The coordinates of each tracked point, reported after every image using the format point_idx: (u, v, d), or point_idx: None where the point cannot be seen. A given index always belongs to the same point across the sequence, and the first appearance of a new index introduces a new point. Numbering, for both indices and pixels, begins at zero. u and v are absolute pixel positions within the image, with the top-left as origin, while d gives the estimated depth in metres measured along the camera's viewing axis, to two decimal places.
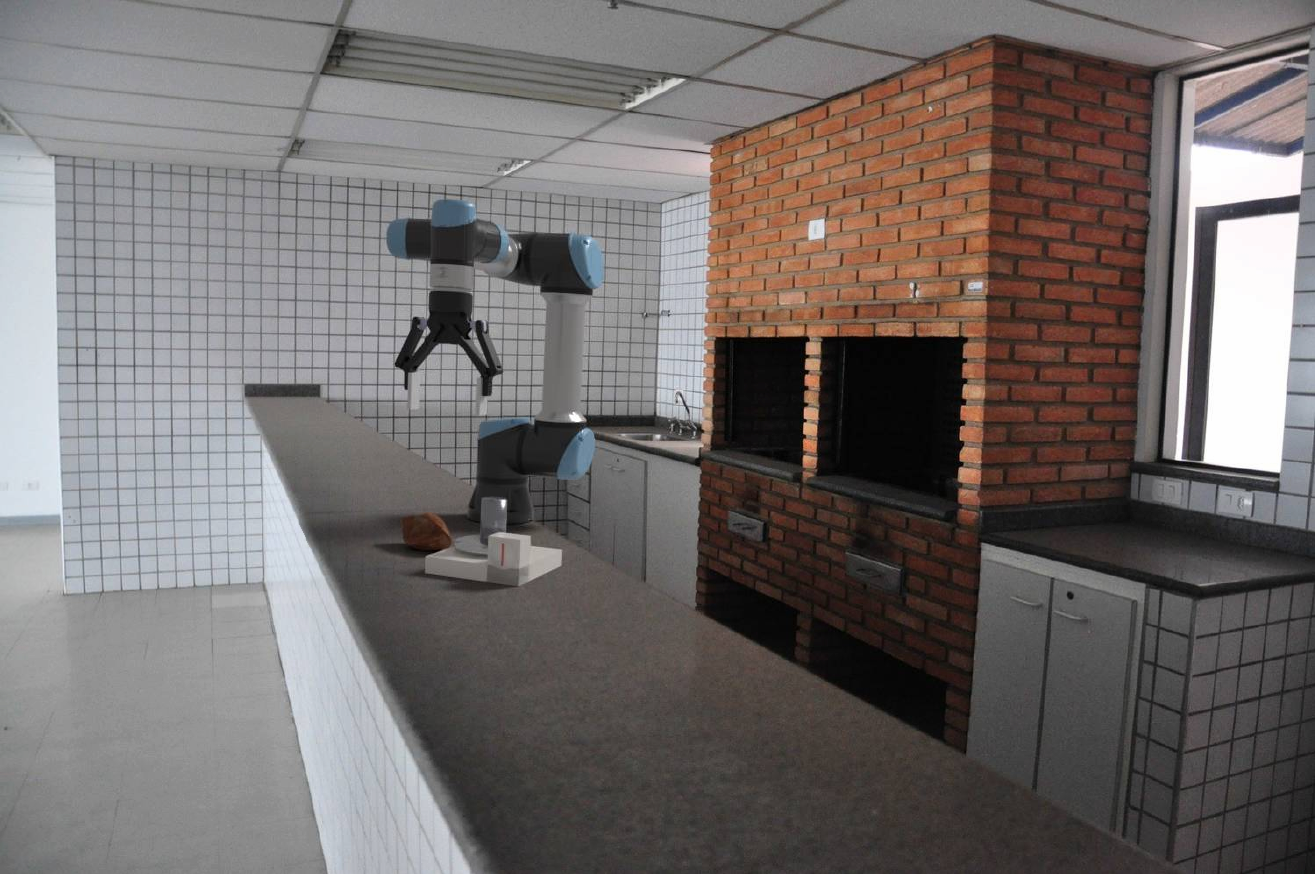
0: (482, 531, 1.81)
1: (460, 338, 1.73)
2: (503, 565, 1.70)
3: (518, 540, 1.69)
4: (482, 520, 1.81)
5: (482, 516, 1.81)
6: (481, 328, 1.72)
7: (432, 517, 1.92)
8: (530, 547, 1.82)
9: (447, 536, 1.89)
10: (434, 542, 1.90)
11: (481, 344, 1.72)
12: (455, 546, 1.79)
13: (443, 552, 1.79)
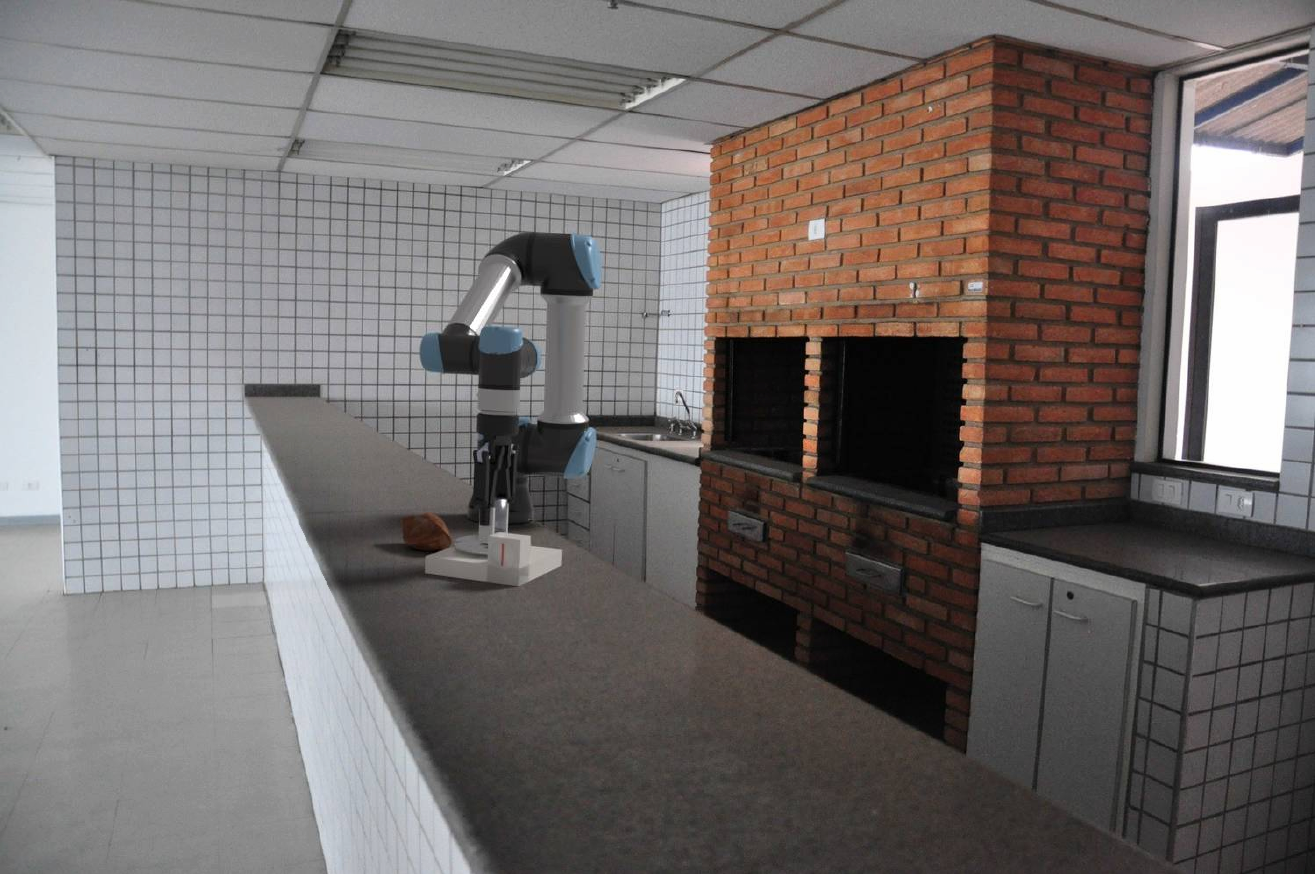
0: None
1: None
2: (503, 565, 1.70)
3: (518, 540, 1.69)
4: None
5: None
6: (474, 458, 1.75)
7: (432, 517, 1.92)
8: (530, 547, 1.82)
9: (447, 536, 1.89)
10: (433, 542, 1.90)
11: None
12: (455, 546, 1.79)
13: (443, 552, 1.79)
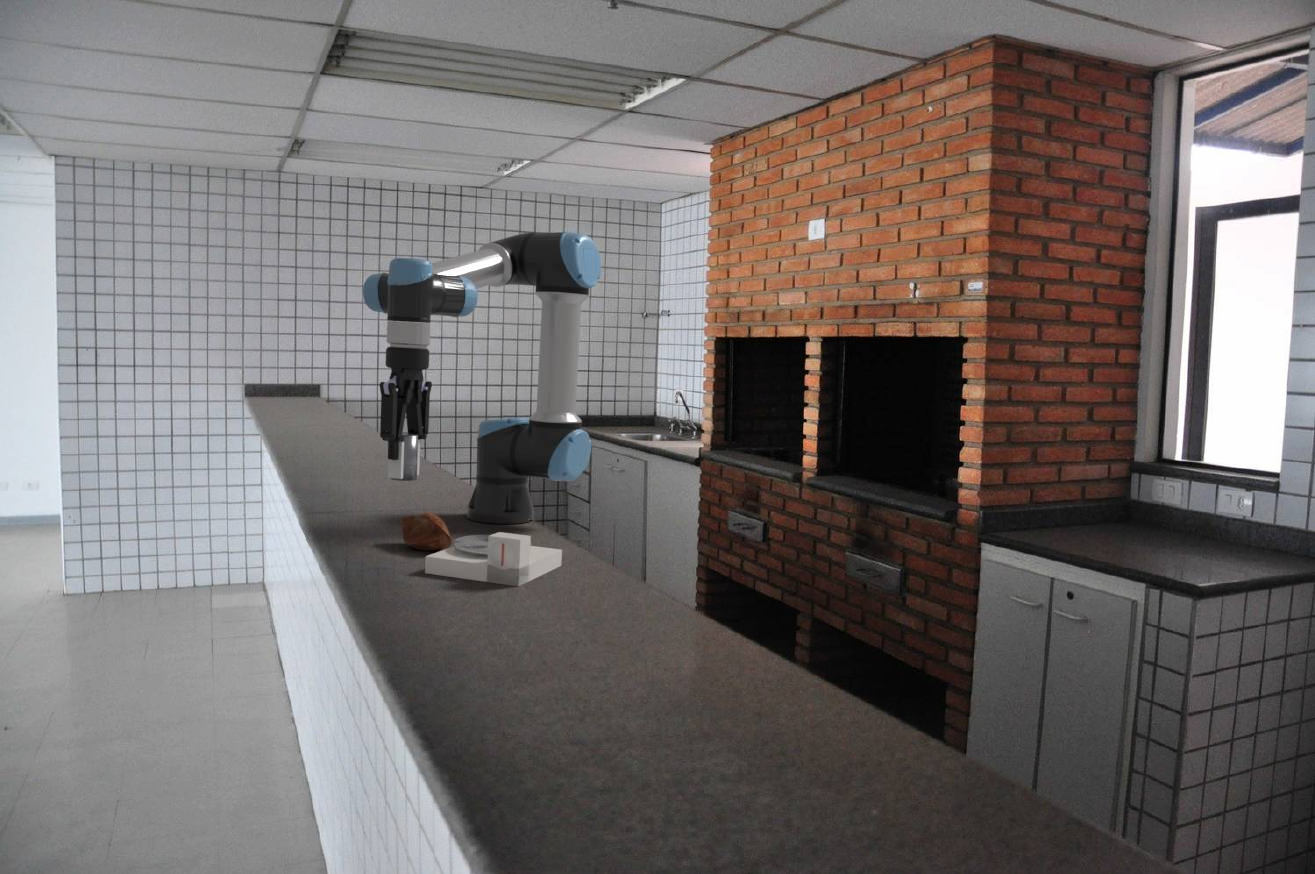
0: None
1: None
2: (503, 565, 1.70)
3: (518, 540, 1.69)
4: None
5: None
6: (381, 391, 1.74)
7: (432, 517, 1.92)
8: (530, 547, 1.82)
9: (447, 536, 1.89)
10: (433, 542, 1.90)
11: None
12: (455, 546, 1.79)
13: (443, 552, 1.79)
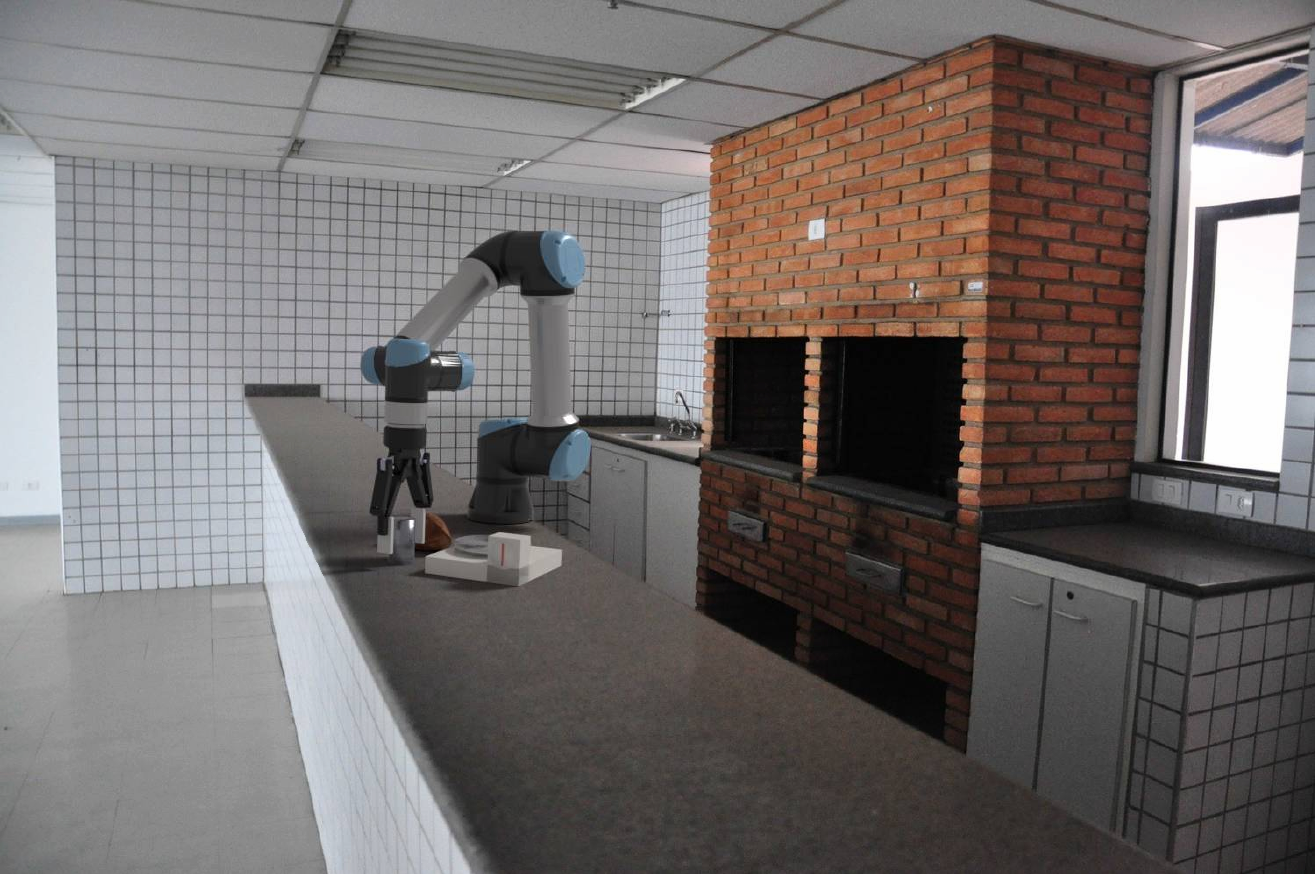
0: None
1: None
2: (503, 565, 1.70)
3: (518, 540, 1.69)
4: None
5: None
6: (377, 466, 1.75)
7: (432, 517, 1.92)
8: (530, 547, 1.82)
9: (447, 536, 1.89)
10: (433, 542, 1.90)
11: None
12: (455, 546, 1.79)
13: (443, 552, 1.79)
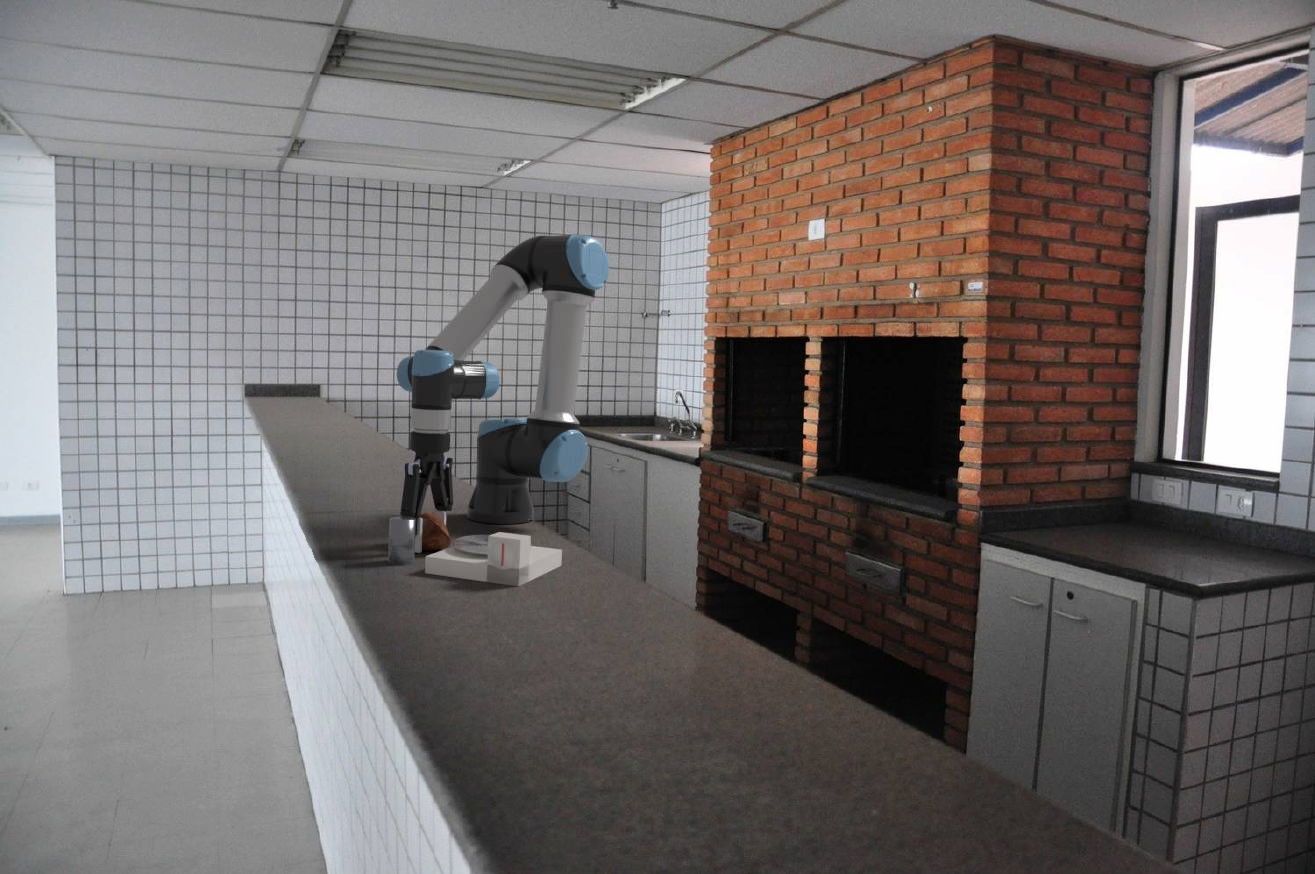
0: (390, 551, 1.81)
1: None
2: (503, 565, 1.70)
3: (518, 540, 1.69)
4: (390, 540, 1.81)
5: (390, 536, 1.81)
6: (405, 471, 1.87)
7: (431, 517, 1.92)
8: (530, 547, 1.82)
9: (446, 536, 1.89)
10: (433, 542, 1.90)
11: None
12: (455, 546, 1.79)
13: (443, 552, 1.79)
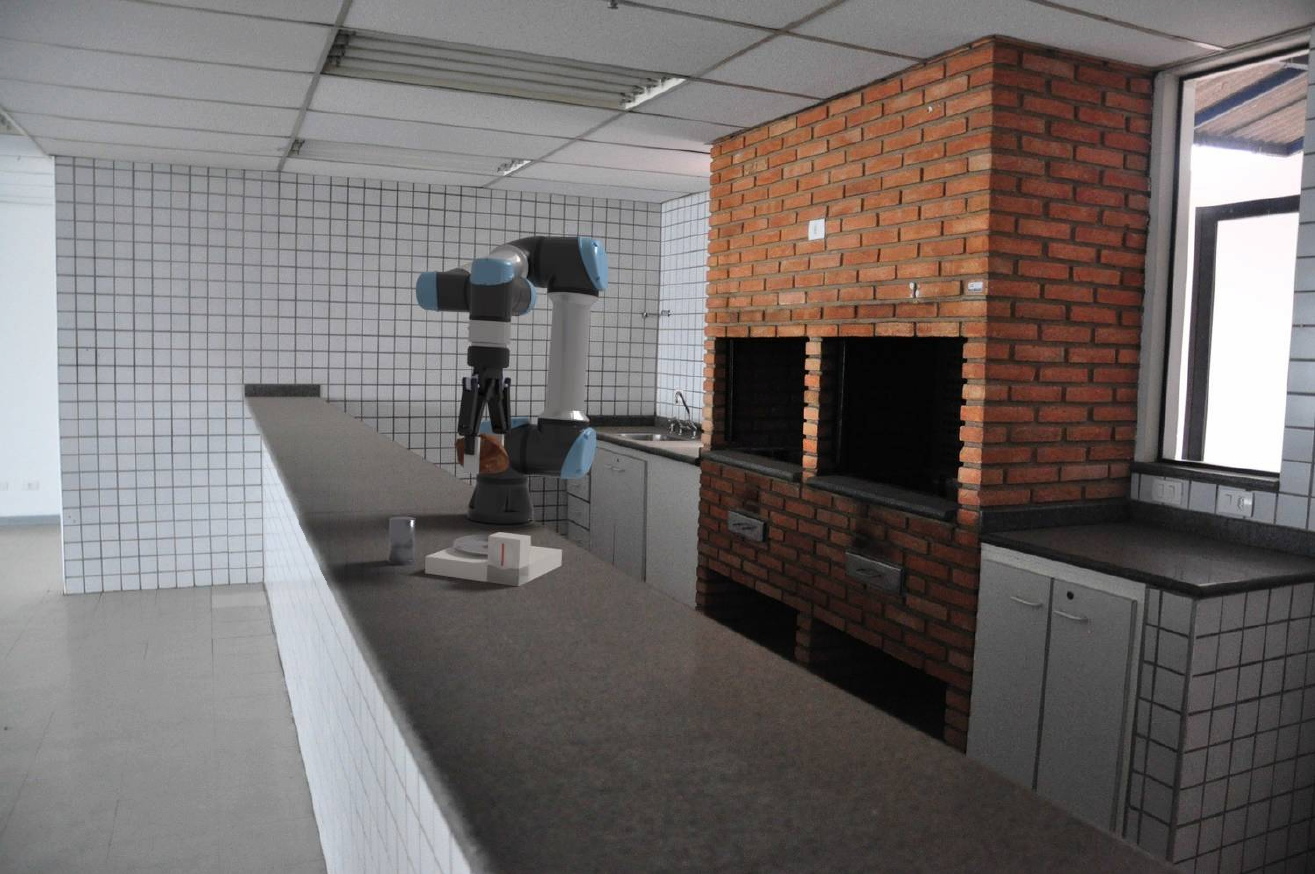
0: (390, 551, 1.81)
1: None
2: (503, 565, 1.70)
3: (518, 540, 1.69)
4: (390, 540, 1.81)
5: (390, 536, 1.81)
6: (463, 386, 1.75)
7: (489, 437, 1.80)
8: (530, 547, 1.82)
9: (505, 456, 1.77)
10: (490, 462, 1.78)
11: None
12: (455, 546, 1.79)
13: (443, 552, 1.79)
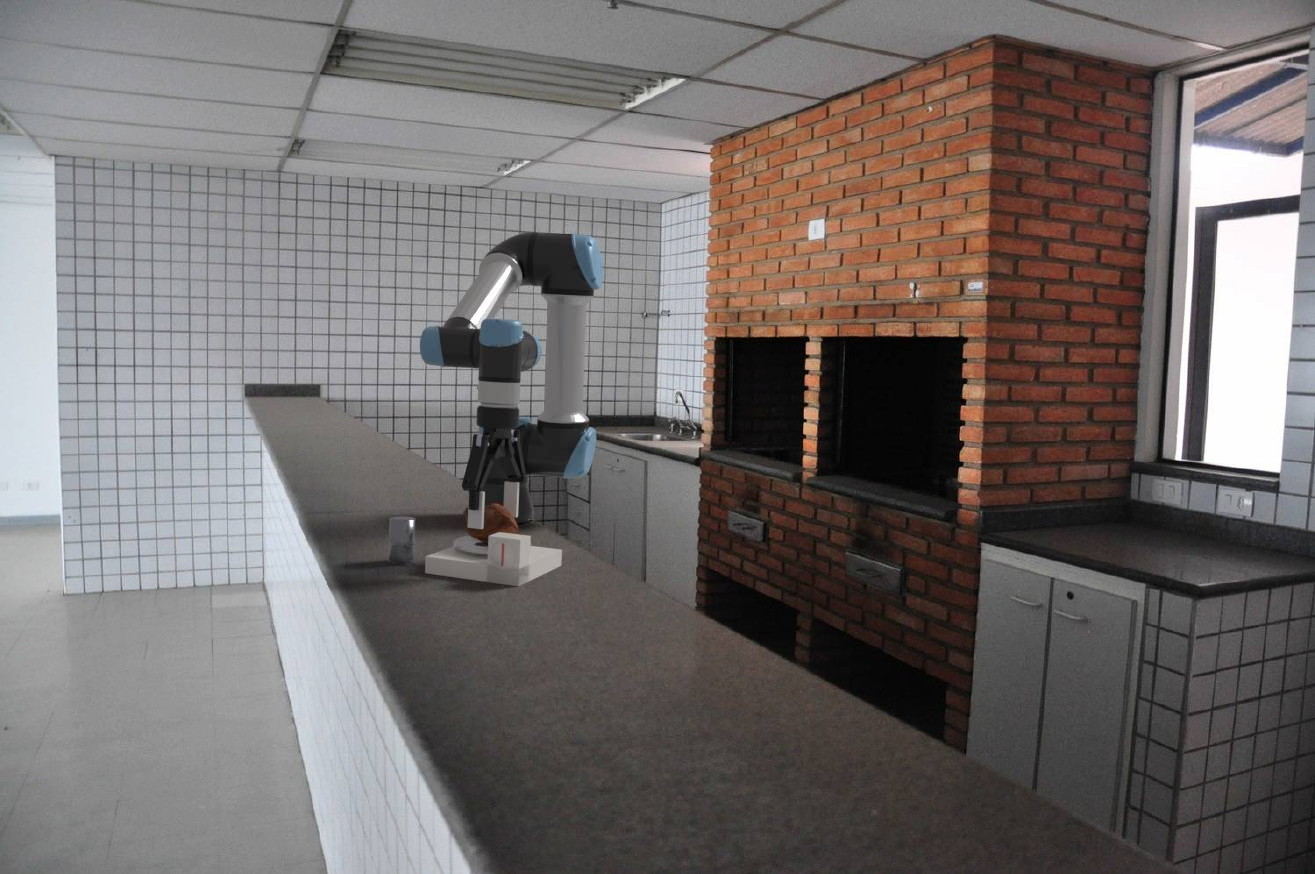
0: (390, 551, 1.81)
1: None
2: (503, 565, 1.70)
3: (518, 540, 1.69)
4: (390, 540, 1.81)
5: (390, 536, 1.81)
6: (473, 442, 1.74)
7: (499, 508, 1.80)
8: (530, 547, 1.82)
9: (515, 528, 1.77)
10: None
11: None
12: (455, 546, 1.79)
13: (443, 552, 1.79)
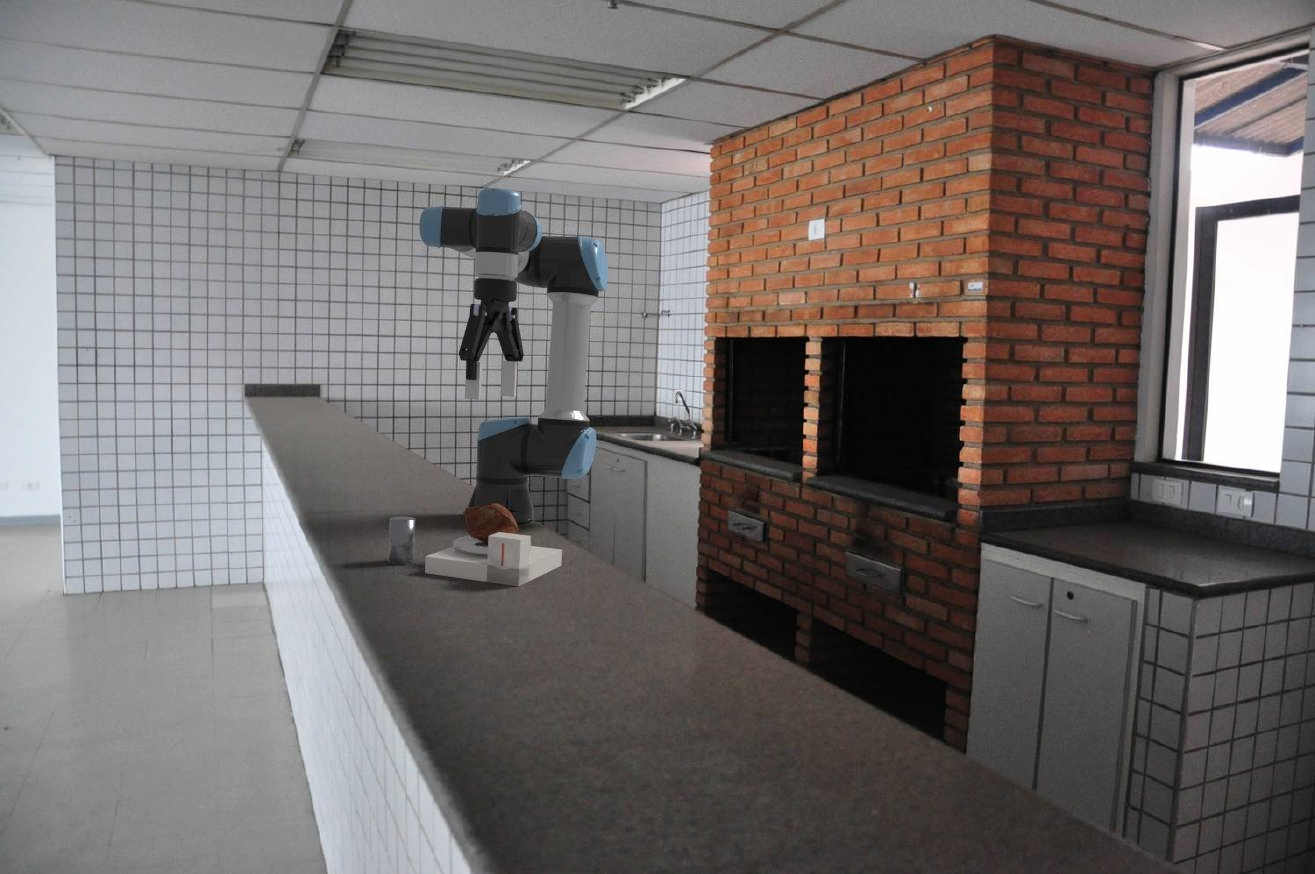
0: (390, 551, 1.81)
1: None
2: (503, 565, 1.70)
3: (518, 540, 1.69)
4: (390, 540, 1.81)
5: (390, 536, 1.81)
6: (470, 311, 1.73)
7: (499, 508, 1.80)
8: (530, 547, 1.82)
9: (515, 528, 1.77)
10: None
11: None
12: (455, 546, 1.79)
13: (443, 552, 1.79)
